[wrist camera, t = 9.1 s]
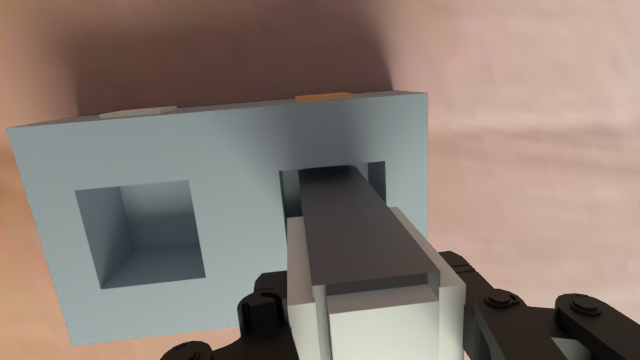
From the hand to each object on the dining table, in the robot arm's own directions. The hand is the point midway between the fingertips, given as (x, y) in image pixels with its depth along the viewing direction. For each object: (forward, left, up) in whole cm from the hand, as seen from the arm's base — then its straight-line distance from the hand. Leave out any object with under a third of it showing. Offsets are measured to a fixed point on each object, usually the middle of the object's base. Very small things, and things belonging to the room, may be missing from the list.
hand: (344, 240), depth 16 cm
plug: (0, 0, -7) cm, 7 cm away
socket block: (-5, 0, -9) cm, 10 cm away
